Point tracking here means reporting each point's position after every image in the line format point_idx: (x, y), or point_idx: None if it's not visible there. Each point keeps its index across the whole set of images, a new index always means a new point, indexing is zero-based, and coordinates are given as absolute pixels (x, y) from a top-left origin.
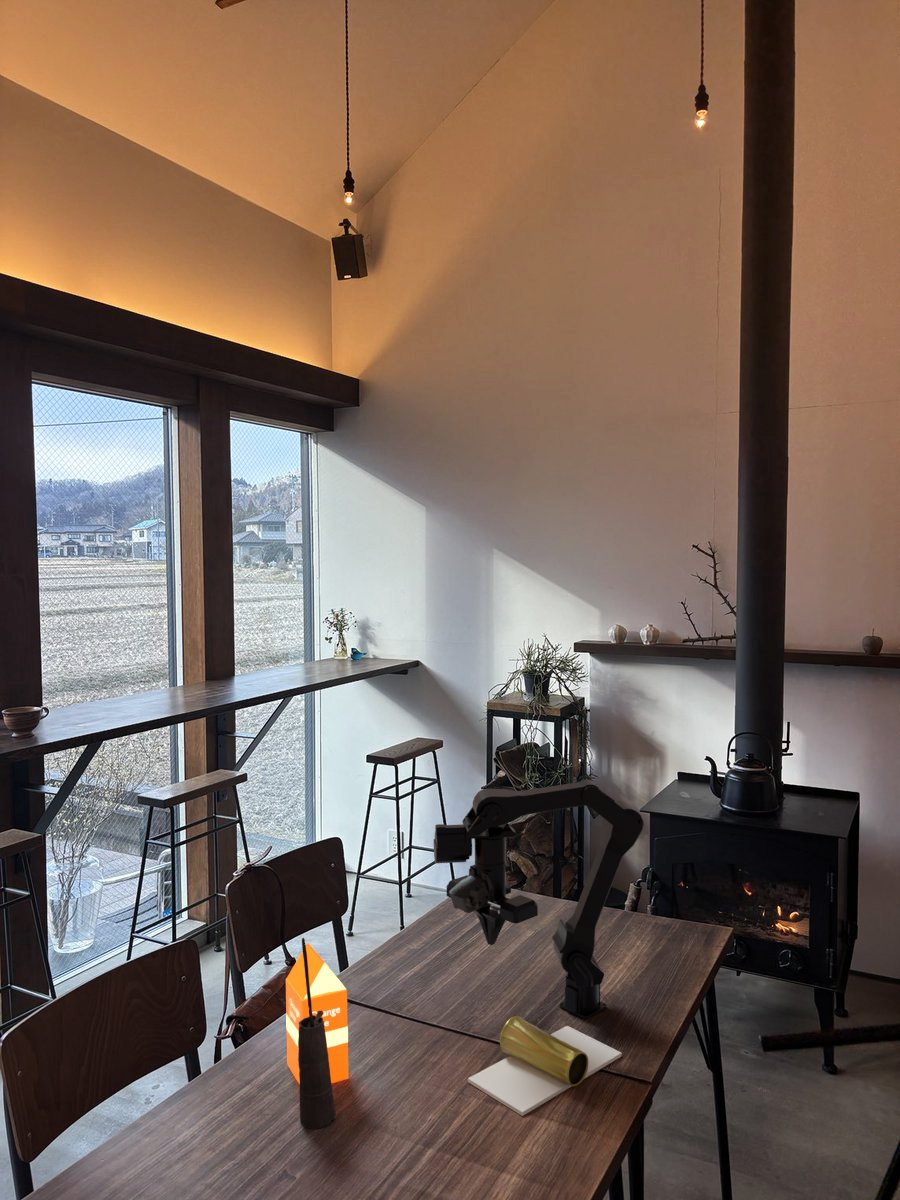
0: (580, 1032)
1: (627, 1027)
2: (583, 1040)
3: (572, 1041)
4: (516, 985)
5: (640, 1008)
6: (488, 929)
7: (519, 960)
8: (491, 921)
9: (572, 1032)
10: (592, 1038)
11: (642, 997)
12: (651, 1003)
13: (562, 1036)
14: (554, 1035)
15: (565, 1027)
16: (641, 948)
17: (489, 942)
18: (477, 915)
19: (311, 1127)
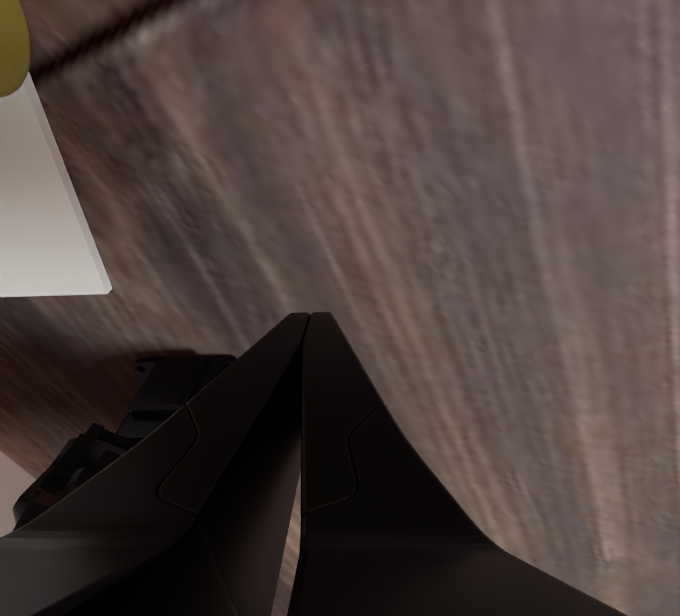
0: (50, 294)
1: (55, 400)
2: (1, 269)
3: (6, 239)
4: (431, 358)
5: None
6: (249, 401)
7: (533, 453)
8: (74, 521)
9: (61, 278)
10: (4, 296)
11: None
12: None
13: (49, 237)
14: (63, 221)
15: (99, 283)
16: None
17: (297, 320)
18: (471, 528)
19: None
